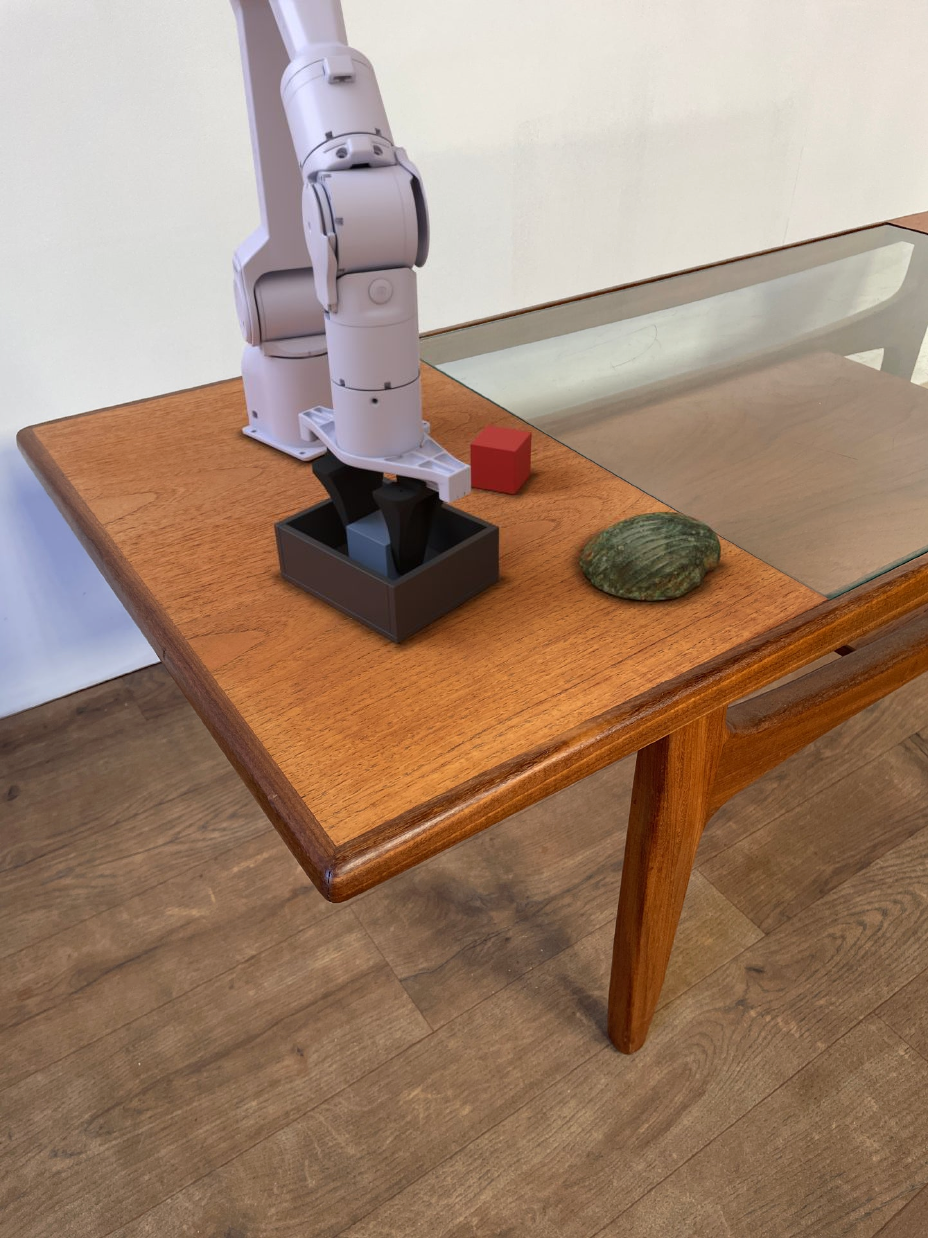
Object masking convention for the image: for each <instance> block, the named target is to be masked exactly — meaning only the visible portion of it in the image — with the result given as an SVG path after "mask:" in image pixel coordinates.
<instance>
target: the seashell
mask: <svg viewBox="0 0 928 1238" xmlns="http://www.w3.org/2000/svg"><path fill="white" fill-rule="evenodd" d="M721 554H722V545H721V542H720V539H719V537H718V534H717V533H716V532H715V530H714V529H712V527H710V525H708V524H706V523H705V522H703V521H701V520H699V519H697V518H695V517H693V516H690V515H687V514H683V513H679V512H674V511H655V512H648V513H642V514H638V515H635V516H631V517H628V518H625V519H623V520H620V521H618V522H616V523H614V524H611V526H609V527H607V528H606V529H604V530H602V531H601V532H599V533H598V534H597V535H595V536H594V537H593V538H591V540H590V541H589V542H588V543H587V545H586V546H585V547H584V549H583V554H582V555H581V556H580V559H581V560H580V562H579V566H581V567H582V572H583V573H584V576H585V577H586V578H587V579H588V580H590V583H591V584H592V586H594V587H595V588H596V589H597V590H602V591H603V592H605V593H607V594H610V595H614V596H616V597H620V598H623V599H628V600H629V599H630V600H638V601H648V602H650V601H662V600H671V599H676V598H679V597H681V596H684V595H685V594H687V593H688V592H689V593H690V592H691V591H692V590H693V589H694V588H696V587H697V588H698V587H699V586H700V585H701V584H702V583H703V579H704V578H705V575H706V573H708V572H710V571H715V570H716V569H717V567H718V565H719V563H720V560H721Z"/></svg>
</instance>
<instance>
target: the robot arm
mask: <svg viewBox="0 0 928 1238" xmlns="http://www.w3.org/2000/svg"><path fill="white" fill-rule="evenodd" d="M229 4H230V6H231V8H232V12H233V15H234V18H235V23H236V30H237V39H238V46H239V56H240V61H241V62H240V63H241V69H242V71H241V72H242V78H243V87H244V97H245V103H246V110H247V119H248V128H249V133H250V134H249V135H250V143H251V144H250V145H251V152H252V159H253V168H254V176H255V183H256V192H257V198H258V208H259V216H260V217H259V218H260V224H259V226H257V228H256V229H255V230H254V231H253V232H251V234H249V236H247V237H246V238H245V239H244V241H242V242H241V243H239V244H238V246H237V247H236V248H235V249H234V251H233V257H232V258H231V264H232V271H233V279H232V284H233V285H232V286H233V296H234V302H235V308H236V315H237V319H238V323H239V327H240V331H241V334H242V337H243V339H244V341H245V342H246V343H247V344H246V346H245V347H244V350H243V352H242V353H243V354H242V357H241V363H240V369H241V376H242V384H243V390H244V396H245V397H244V398H245V403H246V410H247V416H248V423H249V424H248V425H246V426H244V427H242V429H241V430H242V434H244V435H246V436H248V437H250V438H252V439H255V440H257V441H259V442H261V443H264V444H266V445H268V446H270V447H272V448H274V449H276V450H279V451H281V452H283V453H285V454H287V455H290V456H292V457H294V458H297V459H298V460H301V461H303V462H309V461H312V460H314V459H315V460H314V461H313V462H312V463H311V472H312V474H313V475H314V476H315V478H317V480H318V481H319V482H320V484H321V485H322V487H323V488H324V489H325V491H326V493H327V494H328V496H329V498H330V497H331V499H332V501H333V503H334V505H335V507H336V509H337V511H338V513H339V516H340V518H341V520H342V523H343V525H344V528H345V531H346V533H347V529H346V526H348V525H350V524H352V523H354V522H356V521H358V520H360V519H362V518H364V517H366V516H368V515H370V514H372V513H374V512H376V511H378V510H381V512H382V514H383V517H384V519H385V522H386V525H387V529H388V533H389V537H390V545H391V553H392V558H393V562H394V565H395V568H396V571H397V573H399V574H401V575H405V574H407V573H409V572H410V571H412V570H414V569H416V568H417V567H419V566H421V565H423V561H424V556H425V552H426V548H427V544H428V540H429V536H430V533H431V529H432V527H433V524H434V521H435V519H436V516H437V514H438V512H439V510H440V508H441V506H442V504H443V502H444V503H446V504H449V505H451V504H452V503H454V502H457V501H459V500H460V499H462V498H464V497H465V496H468V495H470V494H471V493H472V487H471V466H470V464H467V463H465V462H463V461H461V460H459V459H458V458H456V457H455V456H454V455H452V454H451V453H450V452H449V451H447V450H446V449H445V448H444V447H443V446H441V445H440V444H439V443H438V442H437V441H436V440H435V439H433V438H432V437H431V436H430V434H431V423H430V422H428V421H426V420H423V401H422V383H421V381H422V380H421V379H422V378H421V353H420V352H421V351H420V329H419V325H420V324H419V304H418V303H419V302H418V280H417V279H418V278H417V272H416V271H415V270H414V269H413V268H414V266H415V267H416V268H419V269H420V268H421V269H422V267H424V266H425V265H426V262H427V259H428V256H429V252H430V242H431V239H430V238H431V228H430V225H431V224H430V215H429V206H428V205H429V204H428V200H427V196H426V191H425V187H424V183H423V179H422V175H421V174H420V171H419V169H418V166H417V165H416V164H415V162H413V161H412V160H410V159H409V157H408V154H407V150H406V148H405V147H403V146H399V147H398V146H397V145H395V140H394V137H393V133H392V130H391V127H390V122H389V119H388V115H387V112H386V108H385V105H384V100H383V97H382V95H381V91H380V87H379V83H378V79H377V76H376V73H375V69H374V66H373V64H372V63H371V61H370V60H369V58H368V57H367V56H366V55H365V54H363V52H361V51H360V50H359V49H356V48H354V47H351V46H349V40H348V35H347V31H346V25H345V19H344V13H343V7H342V1H341V0H229ZM323 455H324V456H323ZM318 457H319V458H318ZM384 474H390V475H395V478H396V480H394V481H396V482H394V481H393V482H391V483H389V484H387V485H385V486H383V487H382V481H383V476H384Z"/></svg>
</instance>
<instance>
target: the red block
mask: <svg viewBox="0 0 928 1238" xmlns="http://www.w3.org/2000/svg"><path fill="white" fill-rule="evenodd" d="M532 436H533V435H532V431H528V430H523V429H522V430H521V429H516V428H515V429H514V428H509V427H503V426H496V425H490V424H487V425H486V426H485V427H484V428H483V429H482V430H481V432H480V433H479V434H478V435H476V437H474V439H473V440H472V441H471V442H470V444H469V448H470V449H469V451H470V452H469V454H470V455H469V456H470V464H469V465H470V466H471V488H476V489H482V490H485V491H486V490H487V491H493V492H496V493H497V492H498V493H504V494H509V495H516V493H517V492H518V491H519V490H520V488H521V487H522V486H523V485H524V484H525V482H526V481H527V479H528V478H530V475H531V470H532V469H531V467H532V466H531V465H532V464H531V463H532V461H531V460H532V438H533V437H532Z"/></svg>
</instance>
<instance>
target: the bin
mask: <svg viewBox="0 0 928 1238" xmlns="http://www.w3.org/2000/svg"><path fill="white" fill-rule="evenodd" d="M393 481H394V482H396V480H393V479H391V478H389V477H387V476H384V475H383V481H382V487H383V486H385V485H387V484H389V483H391V482H393ZM273 526H274V527H273V529H274V536H275V543H276V550H277V556H278V562H279V563H278V565H279V570H280V577H281V578H282V579H283V580H285V581H287V582H288V583H291V584H292V585H294V586H296V587H297V588H299V589H301V590H302V591H304V592H306V593H308V594H309V595H311V596H313V597H315V598H317V599H318V600H320V601H322V602H323V603H325V604H327V605H329V606H331V607H332V608H334V609H336V610H337V611H339V612H341V613H343V614H345V615H346V616H348V617H349V618H352V619H353V620H355V621H357V622H359V623H360V624H362V625H363V626H365V627H367V628H369V629H371V630H372V631H374V632H376V633H377V634H379V635H381V636H383V637H384V638H386V639H388V640H390V641H391V642H393V643H395V644H396V645H398V644H400V643H402V642H404V641H405V640H407V639H408V638H410V637H411V636H412V635H414V634H416V633H418V632H419V631H421V630H423V629H424V628H426V627H427V626H429V625H430V624H432V623H434V622H436V621H437V620H438V619H440V618H442V617H443V616H445V615H447V614H448V613H449V612H451V611H453V610H455V609H456V608H458V607H459V606H461V605H462V604H464V603H466V602H467V601H469V600H471V599H472V598H474V597H476V596H477V595H478V594H481V592H483V591H485V590H486V589H488V588H489V587H492V585H494V584H496V583H497V582H499V580H500V579H499V578H500V576H499V575H500V568H499V567H500V526H498V525H495V524H493V523H491V522H489V521H488V520H487V521H486V520H485V519H482V518H481V517H478V516H475V515H473V514H471V513H469V512H466V511H464V510H462V509H460V508H457V507H455V506H453V505H451V504H449V503H447V502H445V501H444V502H443V504H442V506H441V508H440V510H439V512H438V514H437V516H436V519H435V521H434V524H433V527H432V529H431V533H430V536H429V540H428V544H427V549H428V562H426V563H424V564H423V565H421V566H419V567H417V568H416V569H414V570H412V571H410V572H409V573H407V574H405V575H403V576H401V577H400V578H398V579H396V580H394V581H393V580H392V579H390V578H388V577H386V576H384V575H382V574H380V573H378V572H376V571H374V570H372V569H371V568H369V567H367V566H365V565H363V564H361V563H359V562H357V561H355V560H353V559H351V558H350V557H349V550H348V540H347V533H346V531H345V528H344V525H343V523H342V520H341V518H340V516H339V513H338V511H337V509H336V507H335V505H334V503H333V501H332V499H331V497H330V496H329V497H328V498H326V499H324V500H322V501H319V502H317V503H315V504H313V505H311V506H309V507H307V508H304V509H302V510H300V511H298V512H296V513H293V514H292V515H290V516H288V517H286V518H283V519H281V520H279V521H277V522H275V523H274V524H273Z"/></svg>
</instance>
